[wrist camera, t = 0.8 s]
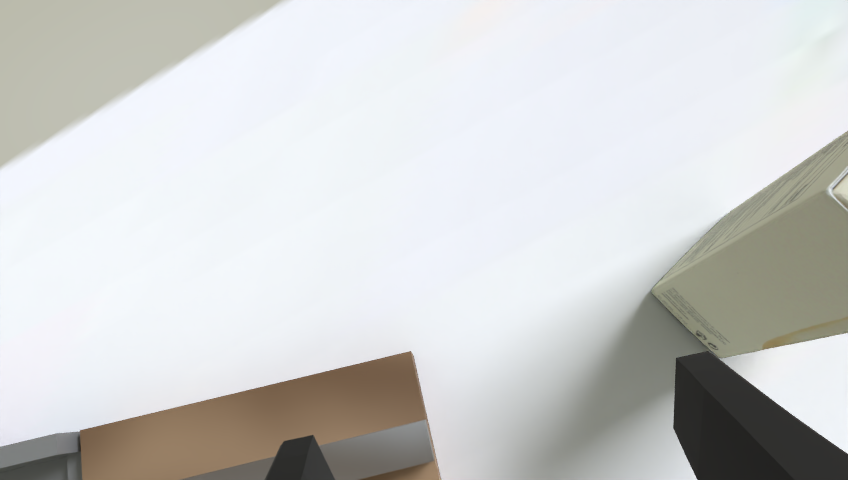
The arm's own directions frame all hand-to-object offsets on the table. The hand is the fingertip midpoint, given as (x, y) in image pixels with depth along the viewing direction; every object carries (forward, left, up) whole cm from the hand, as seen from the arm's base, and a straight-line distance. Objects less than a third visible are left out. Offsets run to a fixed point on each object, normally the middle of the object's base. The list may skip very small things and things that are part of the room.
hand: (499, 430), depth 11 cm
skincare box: (+3, -13, -14) cm, 20 cm away
